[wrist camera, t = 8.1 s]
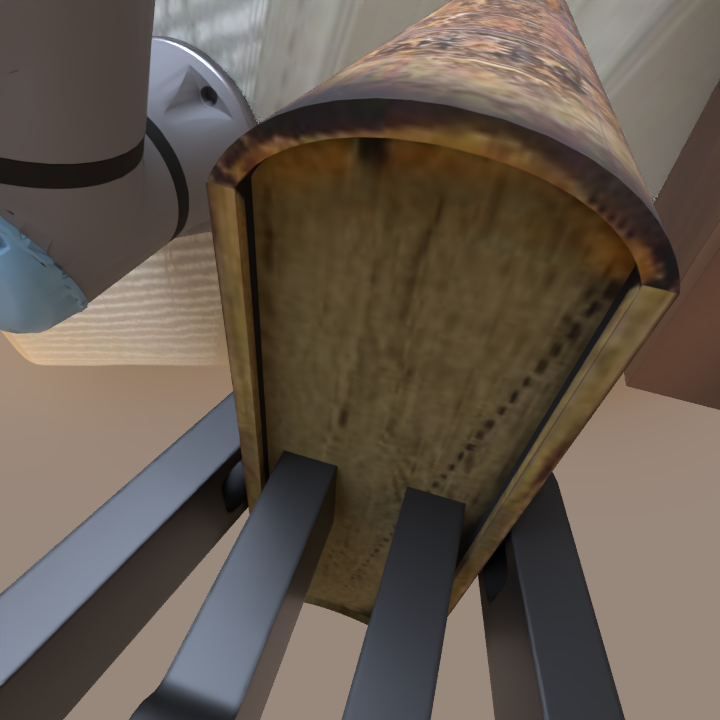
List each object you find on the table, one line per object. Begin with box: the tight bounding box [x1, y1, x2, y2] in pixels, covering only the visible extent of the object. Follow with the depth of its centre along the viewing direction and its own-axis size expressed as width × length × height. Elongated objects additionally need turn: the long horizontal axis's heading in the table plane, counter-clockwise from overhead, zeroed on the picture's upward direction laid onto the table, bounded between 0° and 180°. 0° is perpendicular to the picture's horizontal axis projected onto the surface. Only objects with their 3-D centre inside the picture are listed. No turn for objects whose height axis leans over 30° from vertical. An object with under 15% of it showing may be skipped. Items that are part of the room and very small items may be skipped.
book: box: [206, 0, 680, 625], centre depth 19 cm, size 16×6×25 cm, turn 174°
